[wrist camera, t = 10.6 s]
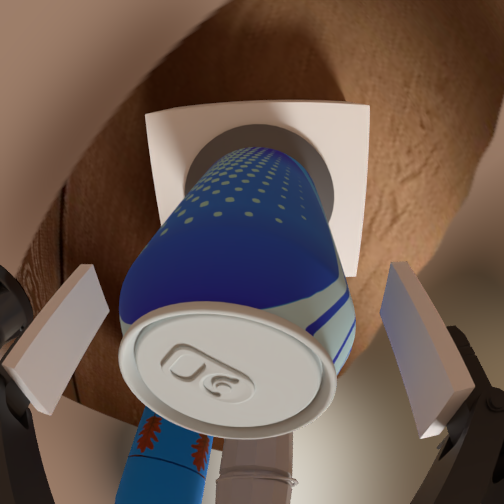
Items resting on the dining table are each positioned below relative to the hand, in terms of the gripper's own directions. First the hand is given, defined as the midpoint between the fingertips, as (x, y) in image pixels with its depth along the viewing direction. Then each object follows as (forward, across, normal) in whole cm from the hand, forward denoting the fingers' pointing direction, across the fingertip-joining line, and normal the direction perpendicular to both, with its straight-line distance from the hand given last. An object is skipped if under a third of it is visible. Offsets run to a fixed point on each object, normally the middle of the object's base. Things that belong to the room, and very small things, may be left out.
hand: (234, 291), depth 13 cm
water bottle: (+20, +1, -24) cm, 31 cm away
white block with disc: (+19, +1, 0) cm, 19 cm away
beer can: (+11, 0, 0) cm, 11 cm away
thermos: (+20, -12, -33) cm, 40 cm away
